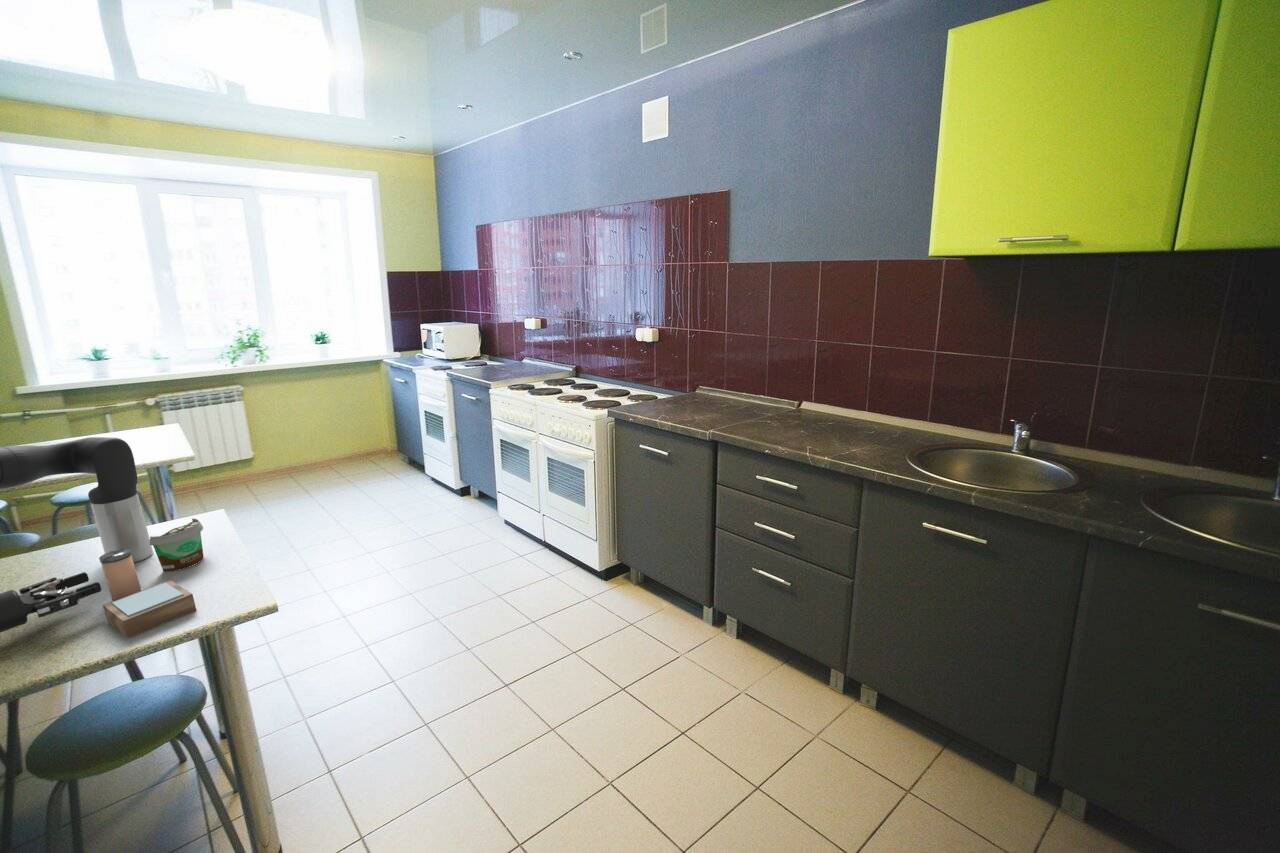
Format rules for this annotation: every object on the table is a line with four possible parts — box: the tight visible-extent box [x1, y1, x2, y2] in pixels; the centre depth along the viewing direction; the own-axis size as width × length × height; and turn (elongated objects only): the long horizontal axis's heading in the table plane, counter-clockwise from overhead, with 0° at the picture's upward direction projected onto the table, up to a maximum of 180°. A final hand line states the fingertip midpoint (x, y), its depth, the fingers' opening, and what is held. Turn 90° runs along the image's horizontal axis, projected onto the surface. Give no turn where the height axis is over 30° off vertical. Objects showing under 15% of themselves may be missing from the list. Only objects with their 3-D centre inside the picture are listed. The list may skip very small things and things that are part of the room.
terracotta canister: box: [98, 549, 142, 602], centre depth 133 cm, size 5×5×11 cm
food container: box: [149, 518, 204, 572], centre depth 149 cm, size 12×6×10 cm, turn 168°
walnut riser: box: [102, 580, 197, 639], centre depth 126 cm, size 12×12×4 cm
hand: (93, 581), depth 129 cm, fingers open, 8 cm apart
